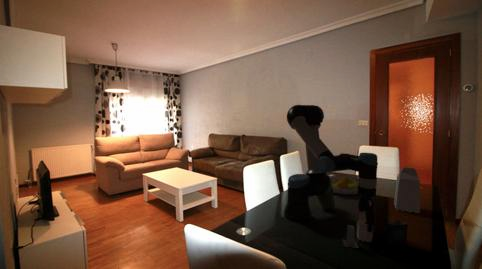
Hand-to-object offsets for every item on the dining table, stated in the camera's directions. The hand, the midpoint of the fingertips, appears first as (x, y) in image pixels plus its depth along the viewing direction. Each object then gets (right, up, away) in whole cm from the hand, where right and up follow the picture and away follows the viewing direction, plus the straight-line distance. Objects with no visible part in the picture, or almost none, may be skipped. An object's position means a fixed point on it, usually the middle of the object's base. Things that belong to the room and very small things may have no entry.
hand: (364, 230), depth 110 cm
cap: (0, -4, 0) cm, 4 cm away
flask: (+13, -4, -2) cm, 14 cm away
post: (-9, -4, -4) cm, 11 cm away
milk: (+45, -1, +36) cm, 58 cm away
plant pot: (-4, 0, +33) cm, 33 cm away
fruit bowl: (+19, +1, +66) cm, 69 cm away
